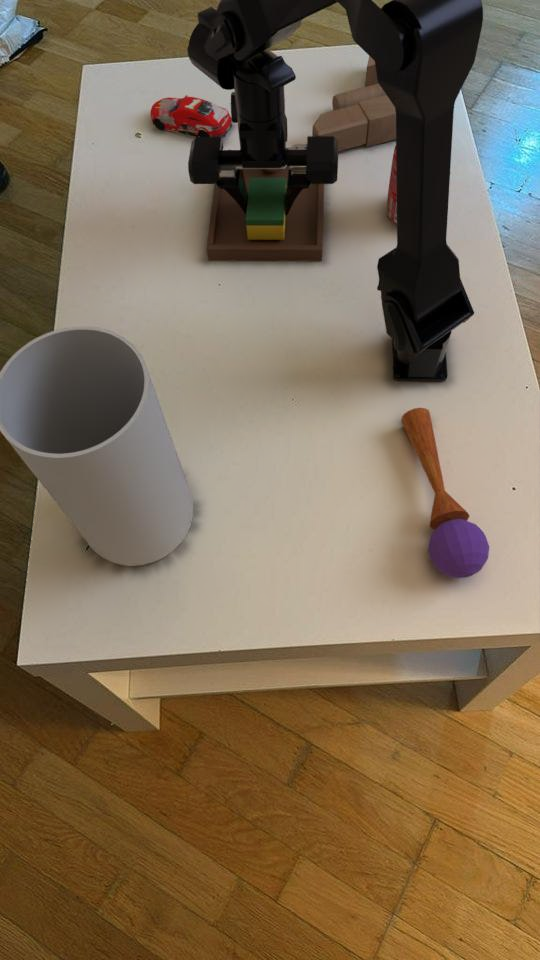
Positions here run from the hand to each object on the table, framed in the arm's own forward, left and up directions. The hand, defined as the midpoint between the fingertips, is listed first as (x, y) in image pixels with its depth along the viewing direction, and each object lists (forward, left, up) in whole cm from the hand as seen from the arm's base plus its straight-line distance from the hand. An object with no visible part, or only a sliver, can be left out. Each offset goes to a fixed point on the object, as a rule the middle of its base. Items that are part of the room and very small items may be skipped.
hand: (267, 213), depth 93 cm
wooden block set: (+24, -12, -2) cm, 27 cm away
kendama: (-42, -21, -2) cm, 47 cm away
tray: (+3, 0, -2) cm, 4 cm away
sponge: (0, 0, -1) cm, 1 cm away
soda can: (+2, -20, -2) cm, 20 cm away
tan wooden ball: (+11, 0, 0) cm, 11 cm away
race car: (+21, +13, -2) cm, 25 cm away
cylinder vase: (-45, +12, -2) cm, 47 cm away
